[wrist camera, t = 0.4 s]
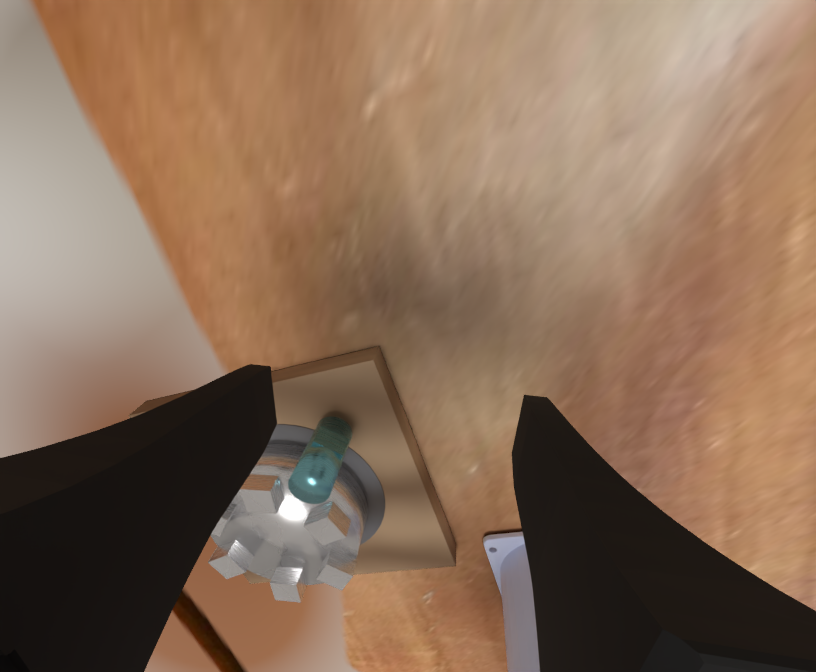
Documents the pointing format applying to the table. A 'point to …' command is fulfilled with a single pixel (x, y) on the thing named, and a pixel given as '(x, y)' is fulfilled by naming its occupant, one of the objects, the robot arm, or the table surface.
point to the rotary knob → (296, 516)
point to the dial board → (365, 457)
